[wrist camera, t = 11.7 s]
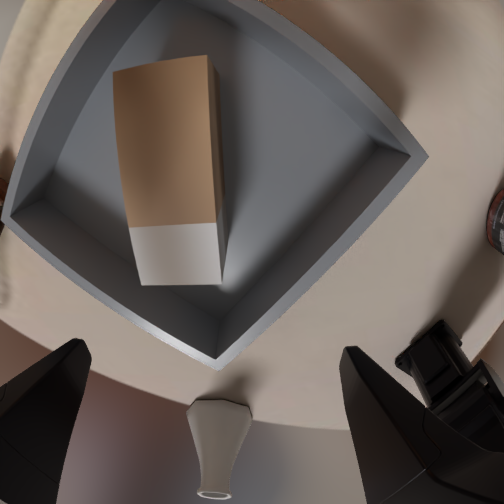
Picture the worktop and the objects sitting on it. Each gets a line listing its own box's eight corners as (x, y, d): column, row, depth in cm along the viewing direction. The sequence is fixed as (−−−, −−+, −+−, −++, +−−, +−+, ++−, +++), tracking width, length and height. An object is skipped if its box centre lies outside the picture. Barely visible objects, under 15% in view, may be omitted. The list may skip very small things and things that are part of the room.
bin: (390, 146, 16) (429, 156, 12) (223, 327, 22) (219, 371, 17) (169, -17, 11) (148, -48, 7) (38, 198, 17) (0, 220, 13)
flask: (186, 424, 28) (176, 497, 19) (187, 392, 25) (173, 480, 16) (246, 432, 29) (247, 505, 20) (259, 401, 26) (262, 489, 17)
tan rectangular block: (219, 74, 13) (207, 54, 9) (228, 240, 18) (221, 284, 13) (150, 83, 13) (112, 72, 9) (166, 243, 18) (141, 285, 13)
